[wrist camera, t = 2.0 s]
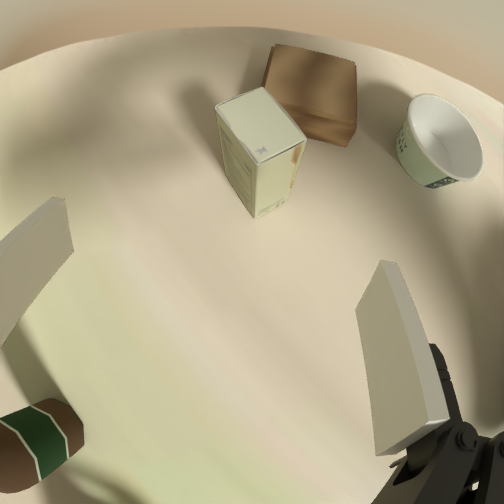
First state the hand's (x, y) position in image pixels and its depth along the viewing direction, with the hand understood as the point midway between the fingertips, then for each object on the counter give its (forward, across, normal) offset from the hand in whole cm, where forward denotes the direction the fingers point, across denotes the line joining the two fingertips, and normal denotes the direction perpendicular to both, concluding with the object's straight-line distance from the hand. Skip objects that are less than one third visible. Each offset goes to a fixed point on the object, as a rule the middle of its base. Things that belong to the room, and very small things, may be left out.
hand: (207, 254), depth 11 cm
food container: (+28, +22, +2) cm, 35 cm away
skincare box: (+21, +1, -6) cm, 22 cm away
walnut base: (+30, +5, +4) cm, 30 cm away
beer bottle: (-2, -17, -29) cm, 34 cm away
